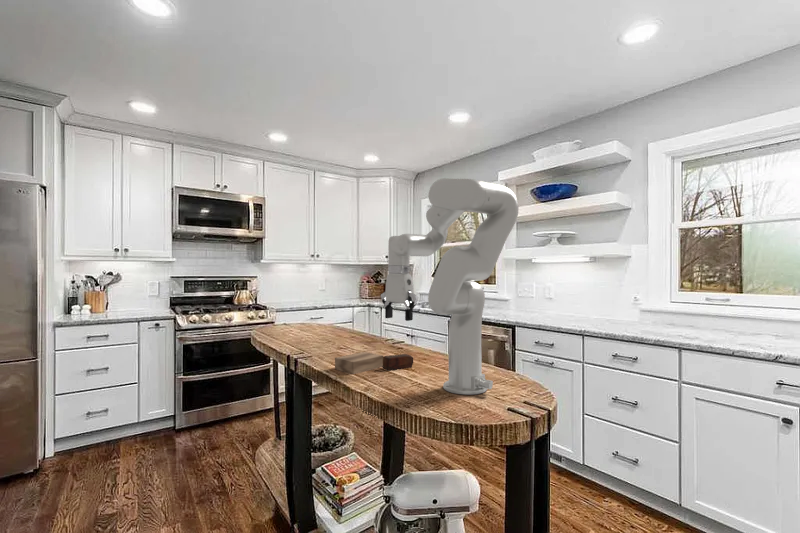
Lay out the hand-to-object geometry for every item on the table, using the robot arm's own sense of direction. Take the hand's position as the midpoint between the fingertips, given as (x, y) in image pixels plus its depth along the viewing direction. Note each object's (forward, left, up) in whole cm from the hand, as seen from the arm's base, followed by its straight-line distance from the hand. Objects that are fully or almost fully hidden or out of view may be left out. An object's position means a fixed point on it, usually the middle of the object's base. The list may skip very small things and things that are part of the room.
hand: (398, 319), depth 143 cm
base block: (+11, +9, -17) cm, 22 cm away
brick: (+1, 0, -18) cm, 18 cm away
